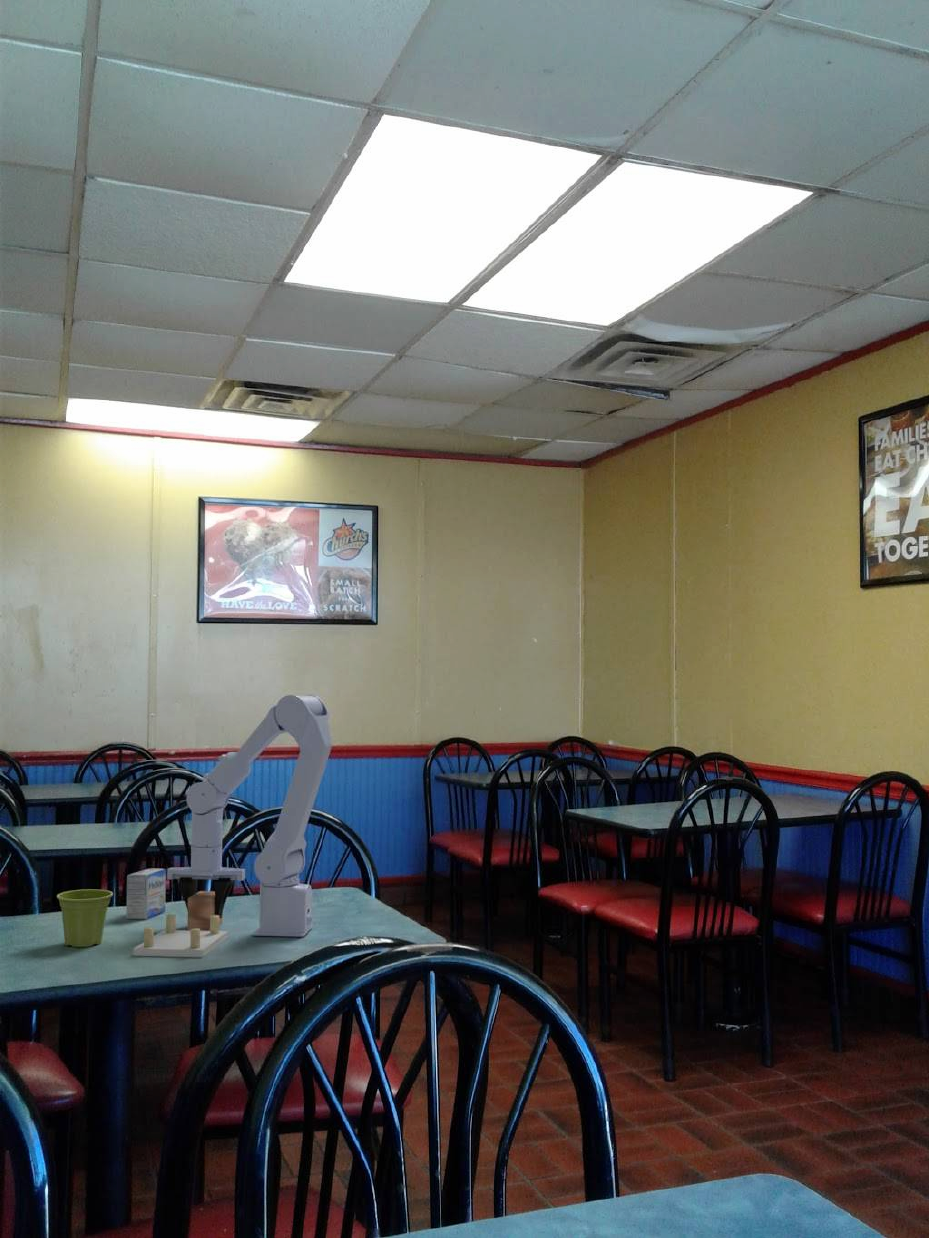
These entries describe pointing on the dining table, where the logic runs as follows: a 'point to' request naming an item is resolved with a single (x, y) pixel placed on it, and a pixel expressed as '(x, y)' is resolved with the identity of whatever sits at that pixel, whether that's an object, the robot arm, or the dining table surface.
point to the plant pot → (84, 916)
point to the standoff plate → (181, 940)
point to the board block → (201, 910)
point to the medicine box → (146, 893)
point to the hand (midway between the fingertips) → (205, 918)
